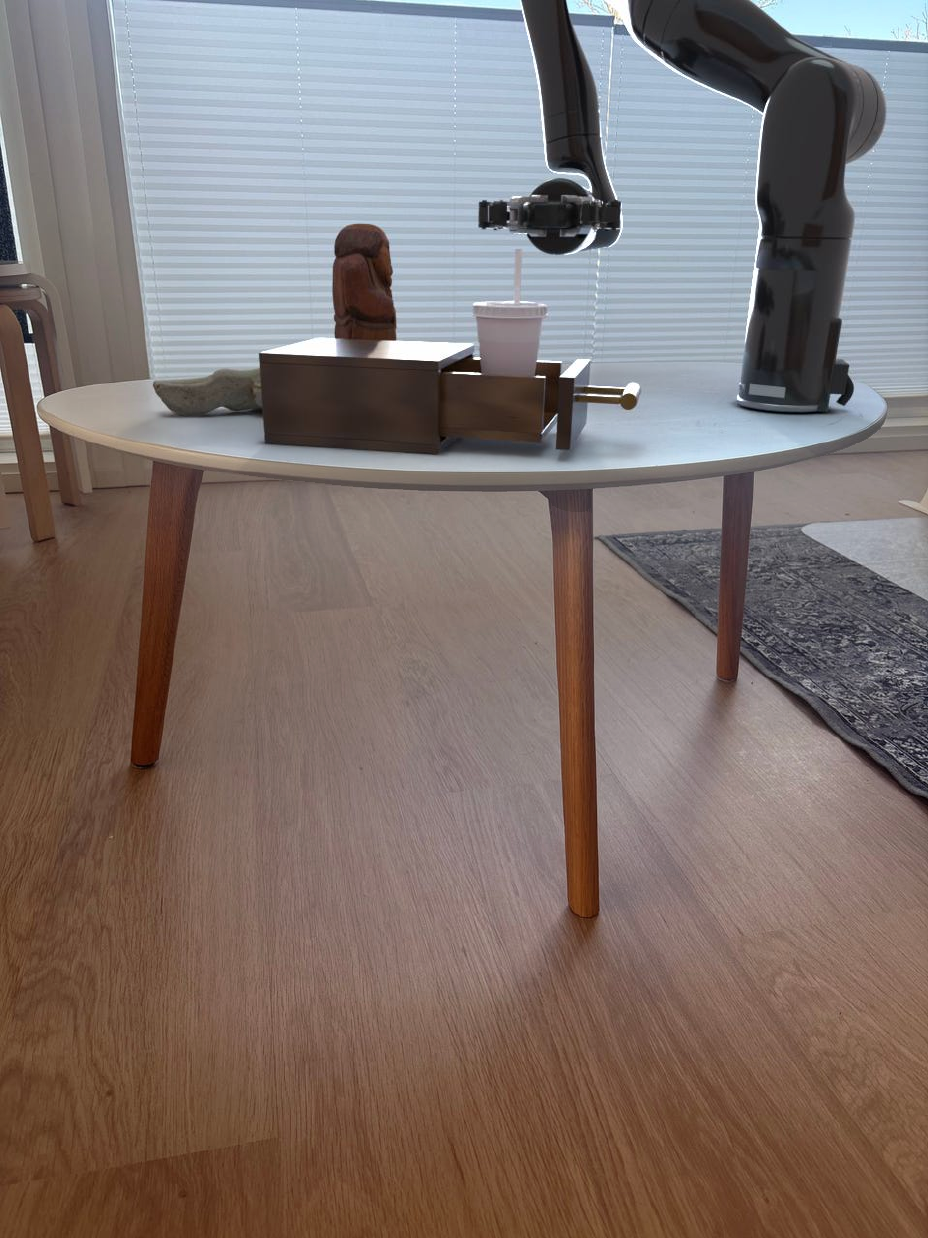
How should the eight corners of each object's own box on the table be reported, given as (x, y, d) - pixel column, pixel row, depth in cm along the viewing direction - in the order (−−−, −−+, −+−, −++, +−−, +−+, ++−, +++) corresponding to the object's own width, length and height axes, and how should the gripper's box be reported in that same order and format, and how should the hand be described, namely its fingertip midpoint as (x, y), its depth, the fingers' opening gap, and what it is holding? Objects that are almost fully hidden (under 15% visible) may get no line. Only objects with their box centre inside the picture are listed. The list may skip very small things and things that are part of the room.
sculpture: (159, 430, 89) (314, 411, 93) (150, 379, 88) (308, 362, 91) (160, 420, 96) (304, 404, 100) (151, 373, 94) (298, 357, 98)
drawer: (639, 426, 86) (645, 361, 84) (631, 454, 75) (637, 380, 72) (436, 414, 90) (436, 352, 88) (399, 439, 79) (398, 369, 76)
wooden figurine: (406, 406, 100) (404, 223, 93) (347, 407, 98) (341, 222, 91) (385, 389, 110) (382, 224, 103) (331, 390, 108) (325, 223, 102)
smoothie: (537, 427, 79) (545, 249, 73) (463, 423, 80) (466, 248, 75) (547, 414, 85) (555, 249, 79) (478, 411, 86) (481, 247, 80)
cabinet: (473, 425, 90) (474, 343, 87) (437, 454, 78) (438, 360, 75) (321, 416, 93) (317, 337, 90) (264, 442, 81) (258, 352, 78)
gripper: (499, 180, 103) (467, 169, 88) (630, 179, 100) (619, 168, 85) (498, 254, 105) (467, 255, 91) (625, 255, 102) (614, 256, 88)
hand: (540, 212), depth 88 cm, fingers open, 8 cm apart
